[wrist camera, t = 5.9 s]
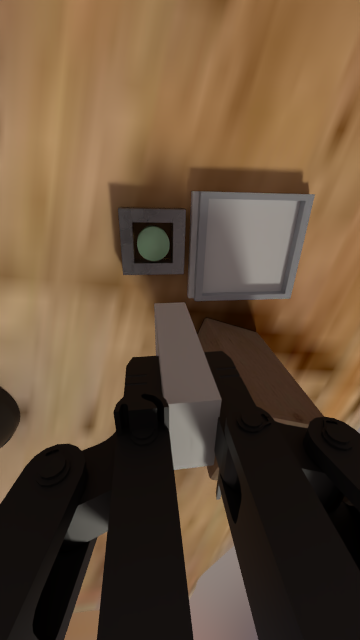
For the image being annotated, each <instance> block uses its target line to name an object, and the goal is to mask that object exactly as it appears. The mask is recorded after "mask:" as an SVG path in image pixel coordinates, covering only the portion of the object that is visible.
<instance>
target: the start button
mask: <svg viewBox="0 0 360 640" xmlns="http://www.w3.org/2000/svg"><path fill="white" fill-rule="evenodd" d="M137 248H138V251H139V253H140V254H141V256H142V257H144V258H145V259H147V260H150V261H158V260H161V259H162V258H164V257H165V256H166V255H167V253H168V251H169V248H170V242H169V238H168V236H167V234H166V233H165V231H164V230H163V229H162V228H160V227H158V226H155V225H150V226H146V227H144V228H143V229H142V230H141V231H140V233H139V235H138V239H137Z"/></svg>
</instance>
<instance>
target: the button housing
mask: <svg viewBox="0 0 360 640" xmlns="http://www.w3.org/2000/svg"><path fill="white" fill-rule="evenodd" d="M118 214H119V226H120V239H121V252H122V265H123V275H156V274H184V252H185V221H186V209H184V208H140V207H119V208H118ZM133 222H154V223H171V259H161V260H158V261H150V260H147V259H135V255H134V237H133Z"/></svg>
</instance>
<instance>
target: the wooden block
mask: <svg viewBox="0 0 360 640" xmlns="http://www.w3.org/2000/svg"><path fill="white" fill-rule="evenodd" d="M197 336H198V338H199V341H200V343H201V346H202V349H203V351H204V352H212V351H223V352H224V353H225V354H227V355H228V356H229V357H230V358H231V359H232V361H233V363H234V364H235V366H236V369H237V370H238V372H239V374H240V376H241V378H242V380H243V382H244V384H245V385H246V387H247V389H248V391H249V393H250V395H251V397H252V399H253V401H254V403H255V404H256V406H257V407H260V408H262V409H263V410H265V411H266V412H268V413H269V414H270V415H271V417H272V418H273V419H274V420H275V421H276V422H279V423H283V424H287V425H293V426H298V427H304V428H308V426H309V423H310V421H312V420H313V419H314V418H317V417H324V416H323V415H322V413H321V412H320V411H319V410H318V408H317V407H316V406H315V405H314V403H313V402H312V401H311V400H310V398H309V397H308V396H307V395H306V393H305V392H304V391H303V390H302V388H301V387H300V386H299V384H298V383H297V382H296V381H295V379H294V378H293V377H292V376H291V374H290V373H289V372H288V371H287V369H286V368H285V367H284V366H283V364H282V363H281V362H280V361H279V359H278V358H277V357H276V356H275V354H274V353H273V352H272V351H271V349H270V348H269V347H268V346H267V344H266V343H265V342H264V341H263V339H262V338H261V337H260V335H259V334H258V333H257V332H254V331H250V330H247V329H243V328H240V327H237V326H233V325H230V324H226V323H223V322H220V321H216V320H213V319H209V318H205V319H204V322H203V324H202V326H201V328H200V330H199V333H198V335H197ZM207 469H208V473H209V477H210V478H211V479H212V480H218V474H219V467H218V463H217V459H216V456H215V460H214V465H211V466H207Z"/></svg>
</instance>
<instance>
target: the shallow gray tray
mask: <svg viewBox="0 0 360 640" xmlns="http://www.w3.org/2000/svg"><path fill="white" fill-rule="evenodd" d="M314 196H315V194H279V193H242V192H205V191H191V214H190V239H189V264H188V289H187V296H188V298H194V300H195V301H219V300H255V299H290V297H291V293H292V289H293V285H294V280H295V276H296V272H297V268H298V264H299V259H300V255H301V251H302V247H303V242H304V238H305V234H306V230H307V225H308V221H309V217H310V213H311V208H312V204H313V200H314Z"/></svg>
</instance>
